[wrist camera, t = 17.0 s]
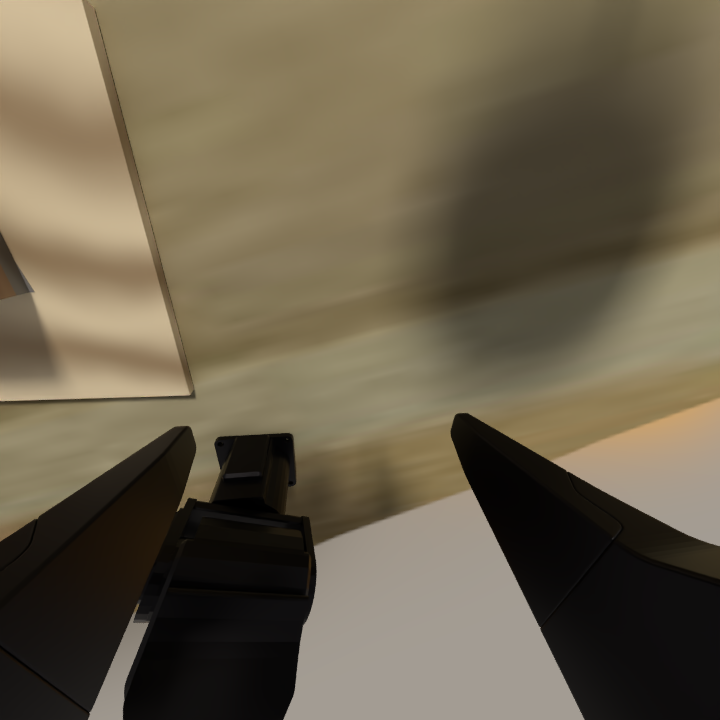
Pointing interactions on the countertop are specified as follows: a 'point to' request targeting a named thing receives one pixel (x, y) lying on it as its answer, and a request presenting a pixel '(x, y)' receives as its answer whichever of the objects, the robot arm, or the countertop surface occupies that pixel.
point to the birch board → (76, 222)
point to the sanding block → (10, 274)
